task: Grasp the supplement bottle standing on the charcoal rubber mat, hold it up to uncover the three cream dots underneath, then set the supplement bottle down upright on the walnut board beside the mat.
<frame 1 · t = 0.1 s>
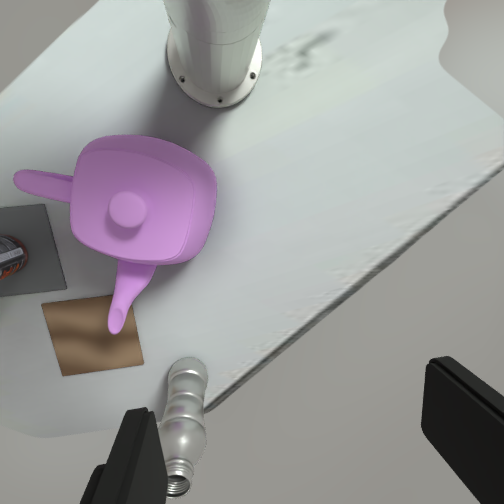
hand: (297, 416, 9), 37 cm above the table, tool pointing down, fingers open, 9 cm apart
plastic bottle: (189, 367, 50), on the table
dot mat: (9, 252, 41), on the table
teapot: (157, 204, 42), on the table
supplement bottle: (8, 252, 41), resting on dot mat
walnut board: (96, 334, 46), on the table
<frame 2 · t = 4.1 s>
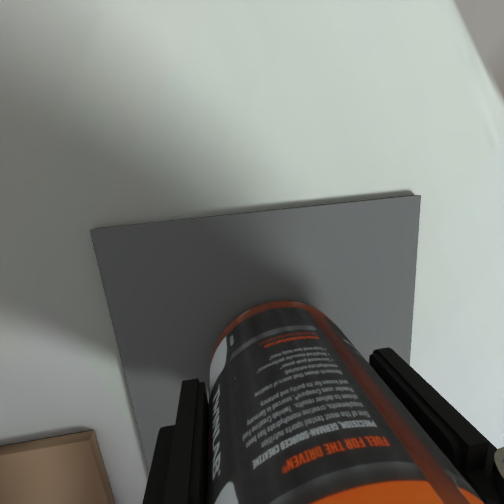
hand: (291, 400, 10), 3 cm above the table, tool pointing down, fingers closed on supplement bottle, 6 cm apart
dot mat: (275, 352, 13), on the table
supplement bottle: (275, 354, 13), resting on dot mat, touching gripper
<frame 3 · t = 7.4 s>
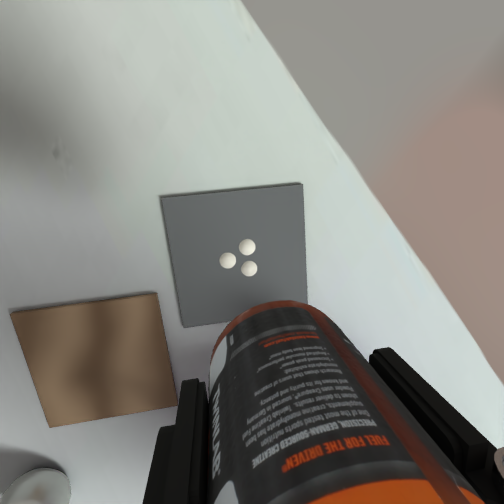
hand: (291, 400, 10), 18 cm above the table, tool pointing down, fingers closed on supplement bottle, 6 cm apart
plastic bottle: (48, 479, 31), on the table
dot mat: (240, 258, 28), on the table
supplement bottle: (275, 354, 13), point 16 cm above the table, touching gripper
walnut board: (102, 360, 28), on the table
when the fingers open (4 cm above the table, at t = 11.0 s): supplement bottle drops 1 cm, resting on walnut board.
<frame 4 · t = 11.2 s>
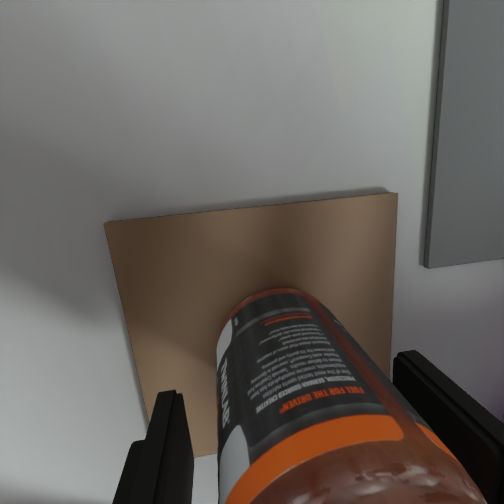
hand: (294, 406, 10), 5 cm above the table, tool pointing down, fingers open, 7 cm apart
supplement bottle: (274, 337, 14), resting on walnut board
walnut board: (267, 333, 14), on the table
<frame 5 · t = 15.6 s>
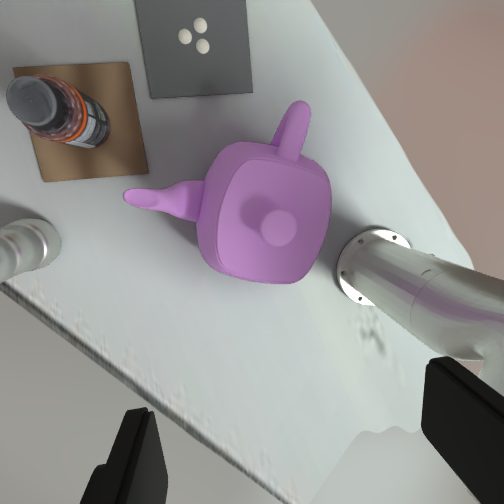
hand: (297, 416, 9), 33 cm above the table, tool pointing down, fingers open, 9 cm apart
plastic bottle: (42, 240, 38), on the table
dot mat: (196, 37, 35), on the table
teapot: (251, 210, 41), on the table
supplement bottle: (88, 124, 35), resting on walnut board
walnut board: (86, 124, 35), on the table
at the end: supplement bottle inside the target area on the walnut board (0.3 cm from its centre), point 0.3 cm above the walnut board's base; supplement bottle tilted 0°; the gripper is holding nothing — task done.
